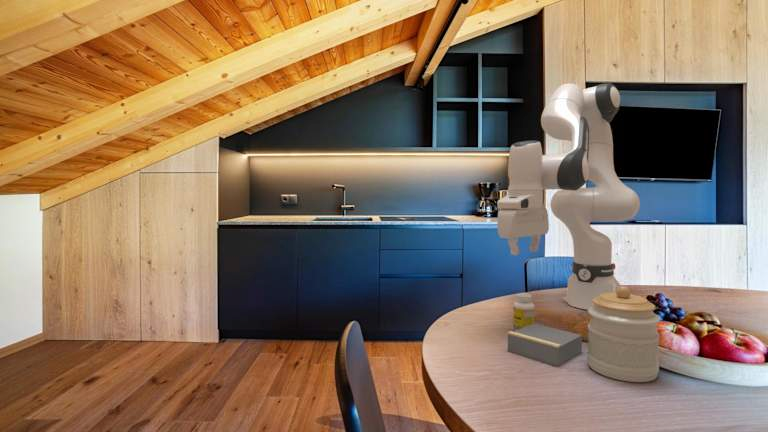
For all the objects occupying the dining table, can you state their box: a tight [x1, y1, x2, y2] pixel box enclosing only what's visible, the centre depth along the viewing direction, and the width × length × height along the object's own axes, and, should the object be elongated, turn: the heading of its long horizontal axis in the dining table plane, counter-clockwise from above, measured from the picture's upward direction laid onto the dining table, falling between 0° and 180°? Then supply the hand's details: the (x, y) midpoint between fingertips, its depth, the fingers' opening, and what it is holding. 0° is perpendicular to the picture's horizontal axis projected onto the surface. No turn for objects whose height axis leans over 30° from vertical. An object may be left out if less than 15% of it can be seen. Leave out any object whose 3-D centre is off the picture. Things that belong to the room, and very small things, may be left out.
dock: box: [507, 323, 583, 367], centre depth 95 cm, size 12×12×4 cm
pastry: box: [571, 319, 590, 342], centre depth 105 cm, size 9×7×4 cm
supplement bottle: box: [513, 292, 536, 331], centre depth 110 cm, size 5×5×10 cm
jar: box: [586, 285, 661, 383], centre depth 85 cm, size 13×13×18 cm
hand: (524, 252), depth 109 cm, fingers open, 8 cm apart
